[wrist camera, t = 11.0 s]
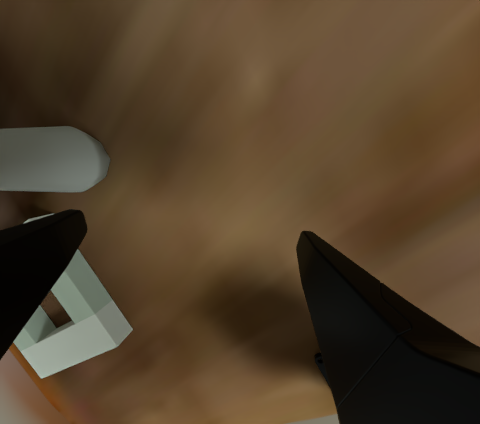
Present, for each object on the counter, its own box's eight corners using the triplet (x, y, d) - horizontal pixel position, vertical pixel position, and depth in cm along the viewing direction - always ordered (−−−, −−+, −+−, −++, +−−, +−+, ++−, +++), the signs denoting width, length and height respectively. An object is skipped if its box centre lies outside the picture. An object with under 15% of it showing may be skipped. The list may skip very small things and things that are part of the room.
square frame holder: (133, 329, 26) (117, 346, 24) (60, 361, 30) (41, 378, 28) (53, 213, 25) (28, 219, 22) (-12, 263, 29) (-40, 272, 26)
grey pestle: (73, 189, 23) (-169, 222, 11) (62, 131, 22) (-228, 95, 10) (122, 188, 22) (-87, 226, 10) (112, 127, 21) (-142, 81, 8)
